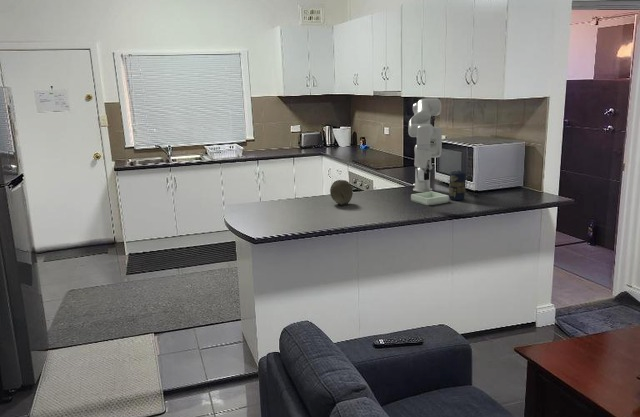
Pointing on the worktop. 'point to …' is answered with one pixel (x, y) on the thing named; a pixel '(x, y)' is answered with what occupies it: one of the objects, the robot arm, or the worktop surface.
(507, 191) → the worktop surface
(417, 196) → the tray
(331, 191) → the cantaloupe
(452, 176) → the canister
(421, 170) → the metal cylinder
